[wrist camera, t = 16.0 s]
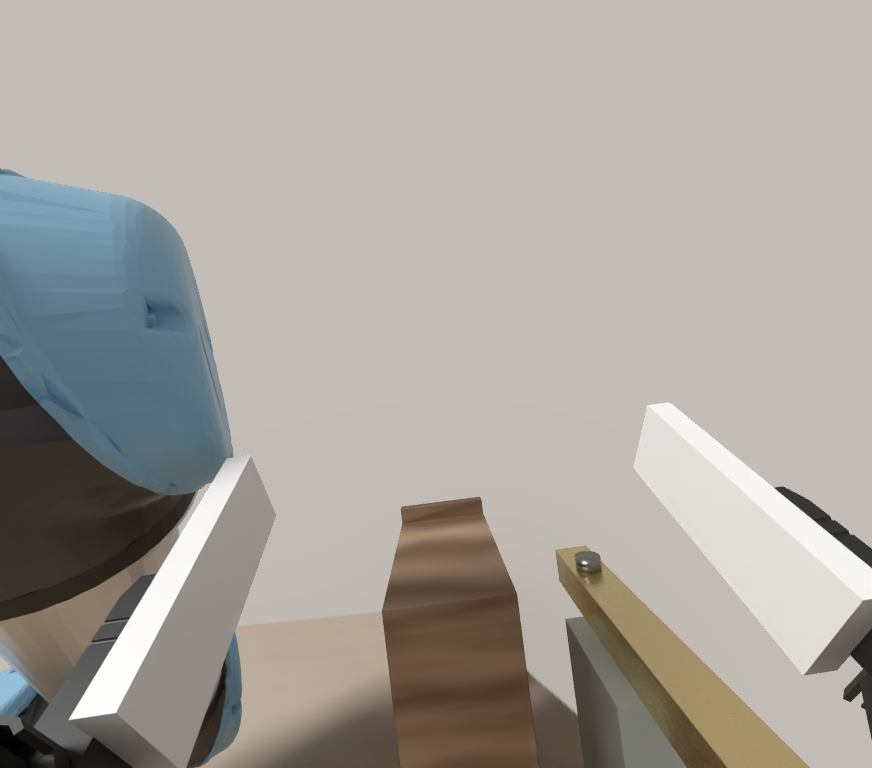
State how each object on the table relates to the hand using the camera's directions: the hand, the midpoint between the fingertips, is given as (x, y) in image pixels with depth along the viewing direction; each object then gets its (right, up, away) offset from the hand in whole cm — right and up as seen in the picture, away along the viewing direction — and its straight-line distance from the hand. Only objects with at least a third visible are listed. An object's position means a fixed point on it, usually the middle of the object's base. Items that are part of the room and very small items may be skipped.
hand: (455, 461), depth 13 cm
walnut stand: (+4, -42, +20) cm, 47 cm away
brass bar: (+15, -19, +17) cm, 30 cm away
